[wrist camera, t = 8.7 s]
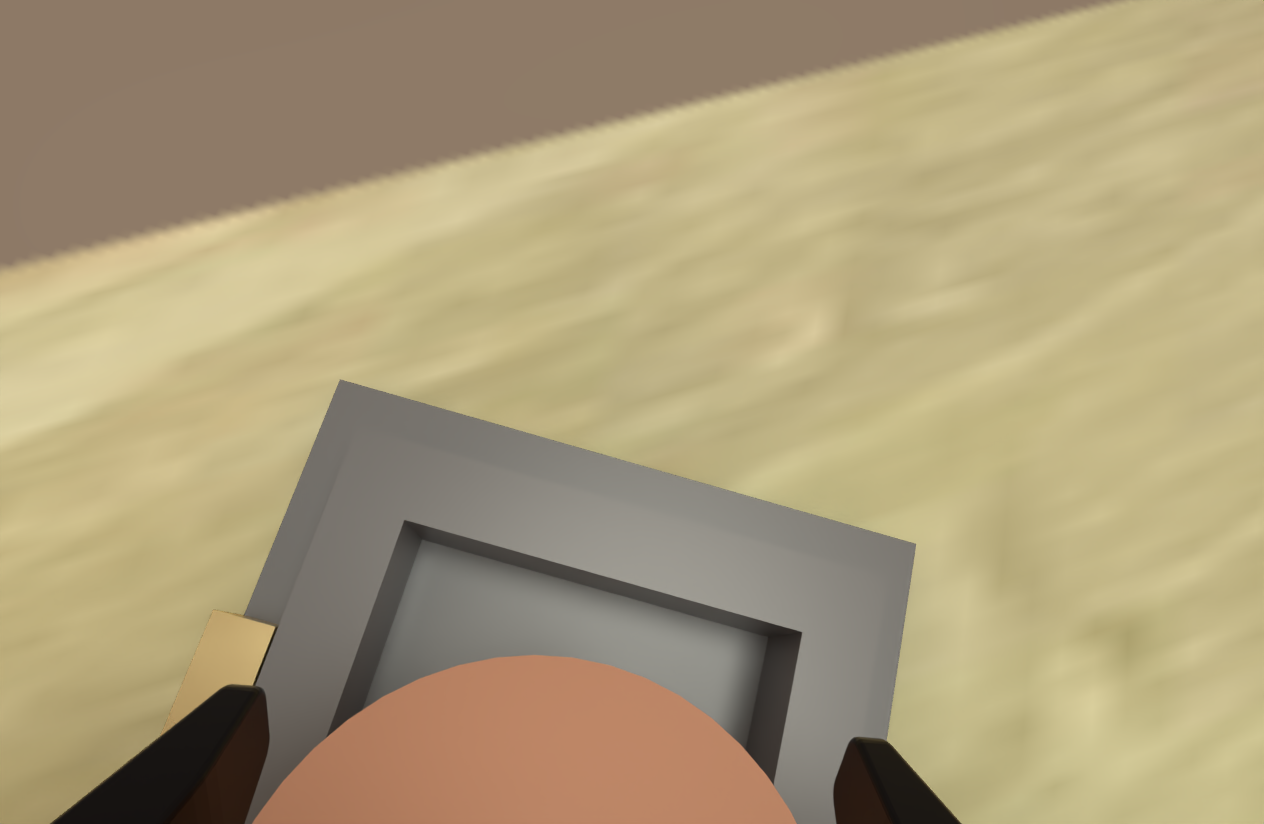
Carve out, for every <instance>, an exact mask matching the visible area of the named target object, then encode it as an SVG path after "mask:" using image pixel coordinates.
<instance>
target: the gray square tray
mask: <svg viewBox="0 0 1264 824" xmlns="http://www.w3.org/2000/svg"><path fill="white" fill-rule="evenodd" d="M915 548H916V544H914V543H911V542H907V541H904V540H900V539H897V538H893V537H890V536H886V535H883V534H879V533H876V532H872V531H869V530H865V529H862V528H858V527H855V526H851V525H848V524H844V523H841V522H837V521H834V520H830V519H827V518H823V517H820V516H816V515H813V514H809V513H806V512H802V511H799V510H795V509H792V508H788V507H785V506H781V505H778V504H774V503H771V502H767V501H764V500H760V499H757V498H753V497H750V496H746V495H743V494H739V493H736V492H732V491H729V490H725V489H722V488H718V487H715V486H711V485H708V484H704V483H701V482H697V481H694V480H690V479H687V478H683V477H680V476H676V475H673V474H669V473H666V472H662V471H659V470H655V469H652V468H648V467H645V466H641V465H638V464H634V463H631V462H627V461H624V460H620V459H617V458H613V457H610V456H606V455H603V454H599V453H596V452H592V451H589V450H585V449H582V448H578V447H575V446H571V445H568V444H564V443H561V442H557V441H554V440H550V439H547V438H543V437H540V436H536V435H533V434H529V433H526V432H522V431H519V430H515V429H512V428H508V427H505V426H501V425H498V424H494V423H491V422H487V421H484V420H480V419H477V418H473V417H470V416H466V415H463V414H459V413H456V412H452V411H449V410H445V409H442V408H438V407H435V406H431V405H428V404H424V403H421V402H417V401H414V400H410V399H407V398H403V397H400V396H396V395H393V394H389V393H386V392H382V391H379V390H375V389H372V388H368V387H365V386H361V385H358V384H354V383H351V382H347V381H344V380H340V381H339V384H338V386H337V389H336V391H335V393H334V396H333V398H332V401H331V403H330V406H329V408H328V411H327V413H326V416H325V418H324V420H323V423H322V425H321V428H320V430H319V433H318V435H317V438H316V440H315V443H314V445H313V447H312V450H311V452H310V455H309V457H308V460H307V462H306V465H305V467H304V470H303V472H302V474H301V477H300V479H299V482H298V484H297V487H296V489H295V492H294V494H293V497H292V499H291V501H290V504H289V506H288V509H287V511H286V514H285V516H284V519H283V521H282V524H281V526H280V528H279V531H278V533H277V536H276V538H275V541H274V543H273V546H272V548H271V551H270V553H269V555H268V558H267V560H266V563H265V565H264V568H263V570H262V573H261V575H260V578H259V580H258V582H257V585H256V587H255V590H254V592H253V595H252V597H251V600H250V602H249V605H248V607H247V609H246V612H245V614H244V615H239V614H234V613H229V612H223V611H218V610H213V611H212V614H211V616H210V618H209V621H208V623H207V626H206V628H205V630H204V633H203V635H202V637H201V640H200V642H199V645H198V647H197V649H196V652H195V654H194V657H193V659H192V661H191V664H190V666H189V668H188V671H187V673H186V676H185V678H184V680H183V683H182V685H181V687H180V690H179V692H178V695H177V697H176V699H175V702H174V704H173V706H172V709H171V711H170V714H169V716H168V718H167V721H166V723H165V726H164V728H163V730H162V733H161V735H162V734H164V733H165V732H166V731H167V730H169V729H170V728H171V727H172V726H174V725H175V724H176V723H178V722H179V721H180V720H181V719H183V718H184V717H185V716H186V715H188V714H189V713H190V712H191V711H193V710H194V709H195V708H196V707H198V706H199V705H200V704H201V703H203V702H204V701H205V700H206V699H208V698H209V697H210V696H212V695H213V694H214V693H215V692H217V691H218V690H219V689H220V688H222V687H224V686H226V685H229V684H239V685H251V686H259V687H262V688H263V689H264V691H265V694H266V700H267V711H268V721H269V732H270V742H269V749H268V753H267V757H266V760H265V763H264V766H263V769H262V773H261V776H260V779H259V782H258V785H257V788H256V791H255V794H254V797H253V800H252V803H251V806H250V809H249V812H248V815H247V818H246V821H245V824H252V823H253V821H254V820H255V818H256V817H257V815H258V814H259V813H260V811H261V810H262V809H263V807H264V806H265V805H266V803H267V802H268V801H269V799H270V798H271V797H272V795H273V794H274V793H275V791H276V790H277V789H278V787H279V786H280V785H281V783H282V782H283V781H284V780H285V779H286V778H287V776H288V775H289V774H290V773H291V772H292V771H293V770H294V769H295V768H296V767H297V766H298V765H299V764H300V763H301V762H302V760H303V759H304V758H305V757H306V756H307V755H308V754H309V753H310V752H311V751H312V750H313V749H314V748H315V747H316V746H317V745H318V744H320V743H321V742H322V741H323V740H324V739H326V738H327V737H328V736H329V735H330V734H331V733H333V732H334V731H335V730H336V729H337V728H339V727H340V726H341V725H342V724H343V723H344V722H346V721H347V720H348V719H350V718H351V717H353V716H354V715H356V714H357V713H359V712H360V711H362V710H363V709H365V708H366V707H368V706H370V705H371V704H373V703H374V702H376V701H377V700H379V699H380V698H382V697H383V696H385V695H387V694H389V693H391V692H393V691H395V690H397V689H400V688H402V687H404V686H406V685H408V684H410V683H412V682H414V681H416V680H418V679H420V678H423V677H426V676H428V675H431V674H434V673H437V672H440V671H443V670H446V669H449V668H452V667H455V666H457V665H462V664H467V663H472V662H477V661H482V660H487V659H491V658H497V657H511V656H526V655H543V656H558V657H573V658H577V659H582V660H587V661H592V662H597V663H602V664H606V665H611V666H613V667H616V668H619V669H622V670H625V671H627V672H630V673H633V674H636V675H639V676H642V677H644V678H647V679H649V680H650V681H652V682H654V683H656V684H658V685H660V686H662V687H664V688H666V689H668V690H670V691H672V692H674V693H676V694H678V695H679V696H681V697H682V698H684V699H685V700H687V701H688V702H689V703H691V704H692V705H694V706H695V707H697V708H698V709H700V710H701V711H702V712H704V713H705V714H707V715H708V716H710V717H711V718H712V719H713V720H714V721H715V722H717V723H718V724H719V725H720V726H721V727H722V728H723V729H724V730H725V731H726V732H727V733H729V734H730V735H731V736H732V737H733V738H734V739H735V740H736V741H737V742H738V743H740V744H741V746H742V747H743V748H744V749H745V750H746V751H747V753H748V754H749V755H750V756H751V757H752V758H753V760H754V761H755V762H756V763H757V764H758V766H759V767H760V768H761V769H762V770H763V771H764V773H765V774H766V775H767V776H768V778H769V779H770V781H771V782H772V784H773V785H774V787H775V788H776V790H777V791H778V793H779V794H780V796H781V797H782V799H783V801H784V802H785V804H786V805H787V807H788V808H789V810H790V811H791V813H792V815H793V817H794V819H795V821H796V823H797V824H836V818H835V810H834V802H833V787H834V782H835V778H836V776H837V773H838V770H839V767H840V765H841V762H842V759H843V756H844V753H845V751H846V748H847V745H848V743H849V741H850V740H851V739H852V738H854V737H869V738H880V739H884V740H887V734H888V727H889V721H890V714H891V707H892V701H893V694H894V687H895V681H896V674H897V668H898V661H899V654H900V648H901V641H902V634H903V628H904V621H905V615H906V608H907V601H908V595H909V588H910V581H911V575H912V568H913V562H914V555H915ZM161 735H160V736H161Z"/></svg>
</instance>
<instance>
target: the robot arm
mask: <svg viewBox="0 0 1264 824" xmlns="http://www.w3.org/2000/svg"><path fill="white" fill-rule="evenodd" d="M269 742H270V732H269V721H268V711H267V700H266V694H265V691H264V689H263V688H262V687H259V686H251V685H239V684H229V685H226V686H224V687H222V688H220V689H219V690H218V691H217V692H215V693H214V694H213V695H212V696H210V697H209V698H208V699H206V700H205V701H204V702H203V703H201V704H200V705H199V706H198V707H196V708H195V709H194V710H193V711H191V712H190V713H189V714H188V715H186V716H185V717H184V718H183V719H181V720H180V721H179V722H178V723H176V724H175V725H174V726H172V727H171V728H170V729H169V730H167V731H166V732H165V733H164V734H162V735H161V736H160V737H159V738H157V739H156V740H155V741H154V742H152V743H151V744H150V745H149V746H147V747H146V748H145V749H144V750H142V751H141V752H140V753H139V754H137V755H136V756H135V757H133V758H132V759H131V760H130V761H128V762H127V763H126V764H125V765H123V766H122V767H121V768H120V769H118V770H117V771H116V772H115V773H113V774H112V775H111V776H110V777H108V778H107V779H106V780H105V781H103V782H102V783H101V784H100V785H98V786H97V787H96V788H94V789H93V790H92V791H91V792H89V793H88V794H87V795H86V796H84V797H83V798H82V799H81V800H79V801H78V802H77V803H76V804H74V805H73V806H72V807H71V808H69V809H68V810H67V811H66V812H64V813H63V814H62V815H60V816H59V817H58V818H57V819H55V820H54V821H53V822H52V823H50V824H245V821H246V818H247V815H248V812H249V809H250V806H251V803H252V800H253V797H254V794H255V791H256V788H257V785H258V782H259V779H260V776H261V773H262V769H263V766H264V763H265V760H266V757H267V753H268V749H269ZM833 802H834V810H835V818H836V824H961V823H960V821H959V820H958V819H957V818H956V817H955V816H954V815H953V814H952V813H951V811H950V810H949V809H948V808H947V807H946V806H945V805H944V804H943V802H942V801H941V800H940V799H939V798H938V797H937V796H936V795H935V793H934V792H933V791H932V790H931V789H930V788H929V787H928V786H927V784H926V783H925V782H924V781H923V780H922V779H921V778H920V777H919V775H918V774H917V773H916V772H915V771H914V770H913V769H912V768H911V767H910V765H909V764H908V763H907V762H906V761H905V760H904V759H903V758H902V756H901V755H900V754H899V753H898V752H897V751H896V750H895V749H894V747H893V746H892V745H891V744H890V743H888V742H887V741H886V740H884V739H880V738H869V737H854V738H852V739H851V740H850V741H849V743H848V745H847V748H846V751H845V753H844V756H843V759H842V762H841V765H840V767H839V770H838V773H837V776H836V778H835V782H834V787H833Z"/></svg>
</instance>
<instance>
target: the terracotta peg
mask: <svg viewBox="0 0 1264 824" xmlns="http://www.w3.org/2000/svg"><path fill="white" fill-rule="evenodd" d="M252 824H797V823H796V821H795V819H794V817H793V815H792V813H791V811H790V810H789V808H788V807H787V805H786V804H785V802H784V801H783V799H782V797H781V796H780V794H779V793H778V791H777V790H776V788H775V787H774V785H773V784H772V782H771V781H770V779H769V778H768V776H767V775H766V774H765V773H764V771H763V770H762V769H761V768H760V767H759V766H758V764H757V763H756V762H755V761H754V760H753V758H752V757H751V756H750V755H749V754H748V753H747V751H746V750H745V749H744V748H743V747H742V746H741V744H740V743H738V742H737V741H736V740H735V739H734V738H733V737H732V736H731V735H730V734H729V733H727V732H726V731H725V730H724V729H723V728H722V727H721V726H720V725H719V724H718V723H717V722H715V721H714V720H713V719H712V718H711V717H710V716H708V715H707V714H705V713H704V712H702V711H701V710H700V709H698V708H697V707H695V706H694V705H692V704H691V703H689V702H688V701H687V700H685V699H684V698H682V697H681V696H679V695H678V694H676V693H674V692H672V691H670V690H668V689H666V688H664V687H662V686H660V685H658V684H656V683H654V682H652V681H650V680H649V679H647V678H644V677H642V676H639V675H636V674H633V673H630V672H627V671H625V670H622V669H619V668H616V667H613V666H611V665H606V664H602V663H597V662H592V661H587V660H582V659H577V658H573V657H558V656H543V655H526V656H511V657H497V658H491V659H487V660H482V661H477V662H472V663H467V664H462V665H457V666H455V667H452V668H449V669H446V670H443V671H440V672H437V673H434V674H431V675H428V676H426V677H423V678H420V679H418V680H416V681H414V682H412V683H410V684H408V685H406V686H404V687H402V688H400V689H397V690H395V691H393V692H391V693H389V694H387V695H385V696H383V697H382V698H380V699H379V700H377V701H376V702H374V703H373V704H371V705H370V706H368V707H366V708H365V709H363V710H362V711H360V712H359V713H357V714H356V715H354V716H353V717H351V718H350V719H348V720H347V721H346V722H344V723H343V724H342V725H341V726H340V727H339V728H337V729H336V730H335V731H334V732H333V733H331V734H330V735H329V736H328V737H327V738H326V739H324V740H323V741H322V742H321V743H320V744H318V745H317V746H316V747H315V748H314V749H313V750H312V751H311V752H310V753H309V754H308V755H307V756H306V757H305V758H304V759H303V760H302V762H301V763H300V764H299V765H298V766H297V767H296V768H295V769H294V770H293V771H292V772H291V773H290V774H289V775H288V776H287V778H286V779H285V780H284V781H283V782H282V783H281V785H280V786H279V787H278V789H277V790H276V791H275V793H274V794H273V795H272V797H271V798H270V799H269V801H268V802H267V803H266V805H265V806H264V807H263V809H262V810H261V811H260V813H259V814H258V815H257V817H256V818H255V820H254V821H253V823H252Z"/></svg>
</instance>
